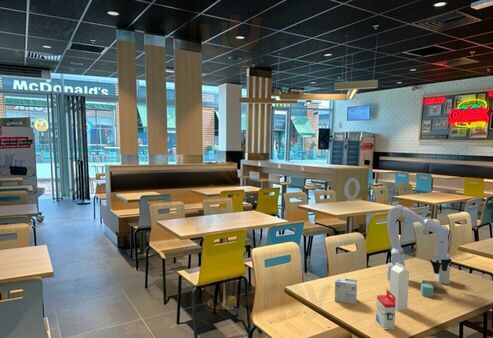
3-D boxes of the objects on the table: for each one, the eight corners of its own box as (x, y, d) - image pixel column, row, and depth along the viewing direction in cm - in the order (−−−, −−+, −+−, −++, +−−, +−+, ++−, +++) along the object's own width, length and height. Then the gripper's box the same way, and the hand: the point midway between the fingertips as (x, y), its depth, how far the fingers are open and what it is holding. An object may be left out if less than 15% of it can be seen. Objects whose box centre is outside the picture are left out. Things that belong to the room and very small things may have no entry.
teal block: (422, 295, 179) (423, 286, 179) (420, 291, 184) (420, 283, 184) (432, 297, 178) (433, 288, 177) (430, 293, 182) (431, 284, 182)
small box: (449, 284, 194) (450, 266, 193) (438, 283, 195) (439, 265, 194) (445, 279, 201) (446, 262, 201) (434, 278, 203) (435, 261, 202)
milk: (397, 311, 163) (399, 266, 161) (388, 305, 169) (390, 262, 167) (407, 309, 164) (409, 265, 163) (398, 303, 170) (400, 261, 168)
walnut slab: (425, 291, 185) (425, 286, 185) (422, 285, 194) (422, 280, 193) (444, 293, 182) (444, 288, 182) (439, 287, 191) (439, 281, 191)
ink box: (375, 319, 155) (376, 288, 153) (385, 319, 155) (387, 288, 154) (383, 330, 146) (385, 297, 145) (395, 329, 146) (396, 297, 145)
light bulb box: (356, 299, 175) (357, 278, 174) (356, 304, 169) (356, 284, 168) (335, 295, 178) (335, 276, 177) (334, 301, 172) (334, 281, 171)
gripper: (441, 252, 178) (440, 277, 180) (456, 248, 186) (454, 272, 187) (428, 248, 185) (427, 272, 186) (443, 244, 192) (442, 267, 193)
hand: (440, 272), depth 187 cm, fingers open, 7 cm apart
